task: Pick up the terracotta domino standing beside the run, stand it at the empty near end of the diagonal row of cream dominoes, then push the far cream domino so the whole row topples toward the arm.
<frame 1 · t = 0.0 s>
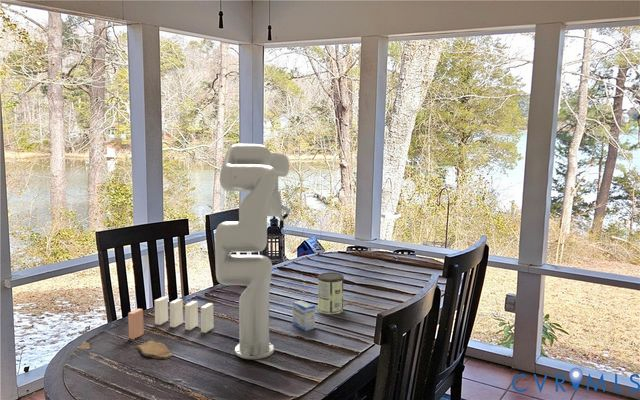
hand: (268, 229, 205), 31 cm above the table, tool pointing down, fingers open, 9 cm apart
pottery shard: (154, 353, 164), on the table
domino 2: (191, 327, 185), on the table
domino 3: (176, 324, 187), on the table
domino 1: (207, 329, 182), on the table
coffee can: (330, 310, 204), on the table
terracotta domino: (136, 336, 176), on the table
medicine box: (303, 327, 187), on the table
domino far: (161, 322, 189), on the table
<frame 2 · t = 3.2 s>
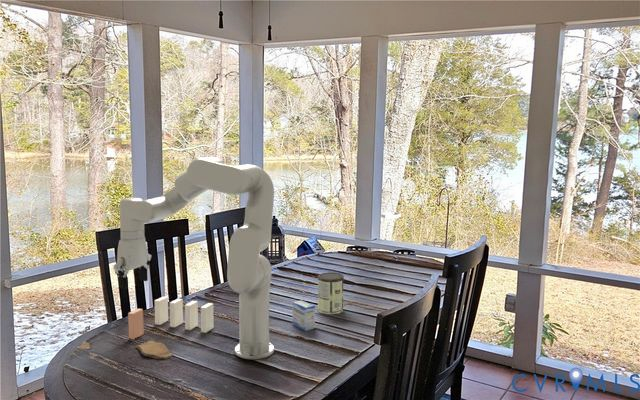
hand: (133, 284, 173), 18 cm above the table, tool pointing down, fingers open, 9 cm apart
nothing on the table moved.
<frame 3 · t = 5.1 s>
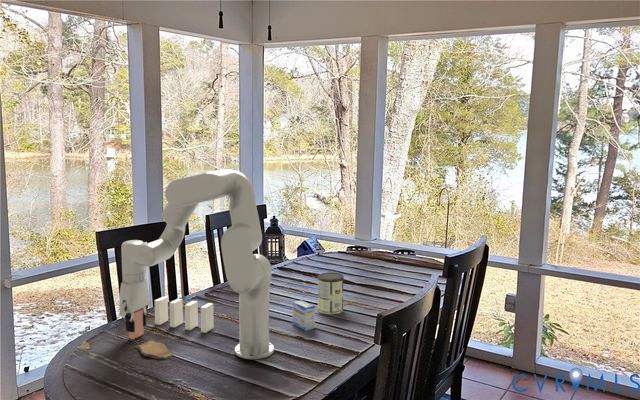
hand: (136, 328, 175), 3 cm above the table, tool pointing down, fingers closed on terracotta domino, 4 cm apart
terracotta domino: (136, 336, 176), on the table, touching gripper
everything else where it was.
when the fingers open (4 cm above the table, at t = 13.3 s): terracotta domino stays where it is, on the table.
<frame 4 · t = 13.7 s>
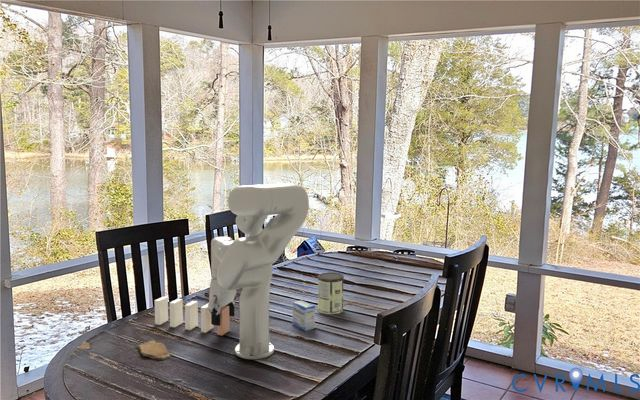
hand: (223, 320, 180), 4 cm above the table, tool pointing down, fingers open, 9 cm apart
terracotta domino: (223, 332, 180), on the table
everything else where it was.
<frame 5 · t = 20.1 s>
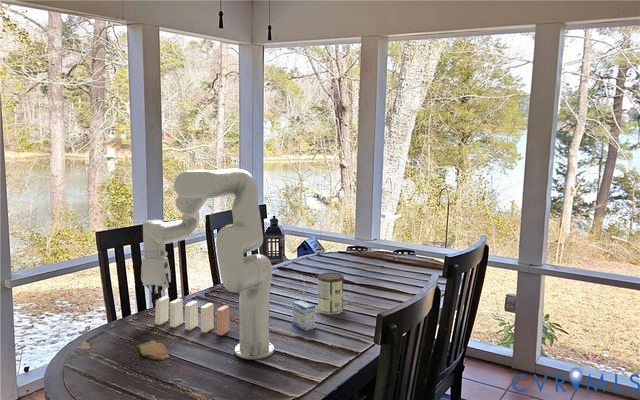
hand: (156, 302, 189), 7 cm above the table, tool pointing down, fingers closed
domino far: (161, 322, 189), on the table, touching gripper
everything else where it was.
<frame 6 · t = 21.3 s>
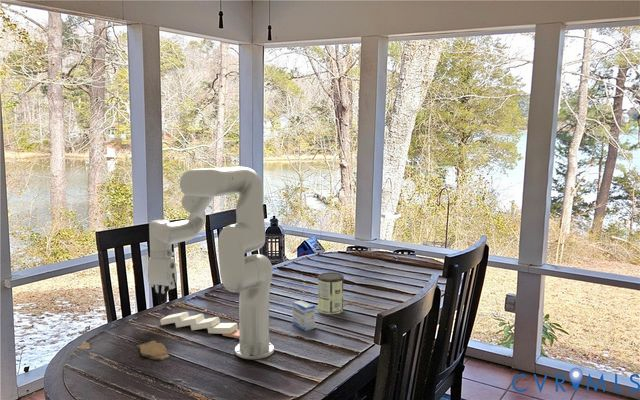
hand: (162, 302, 188), 7 cm above the table, tool pointing down, fingers closed
domino 2: (195, 325, 184), point 1 cm above the table, tilted 73°, touching domino 3
domino 3: (179, 322, 186), point 1 cm above the table, tilted 72°, touching domino 2, domino far
domino 1: (211, 328, 181), point 1 cm above the table, tilted 82°, touching terracotta domino
terracotta domino: (226, 333, 180), on the table, tilted 90°, touching domino 1
domino far: (164, 320, 188), point 1 cm above the table, tilted 72°, touching domino 3
everything else where it was.
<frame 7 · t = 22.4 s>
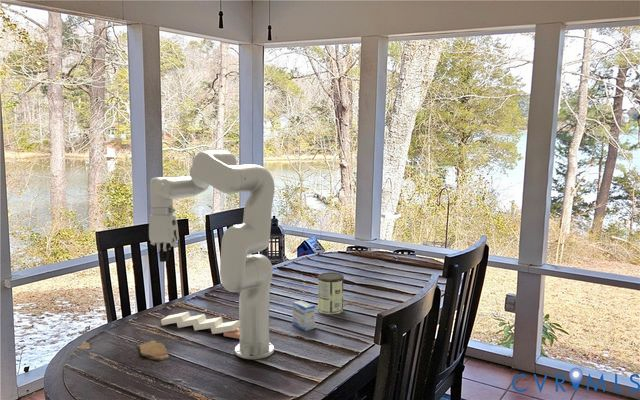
hand: (164, 260, 187), 23 cm above the table, tool pointing down, fingers closed
domino 2: (197, 325, 184), point 1 cm above the table, tilted 74°, touching domino 1, domino 3
domino 1: (215, 328, 181), point 1 cm above the table, tilted 73°, touching domino 2, terracotta domino
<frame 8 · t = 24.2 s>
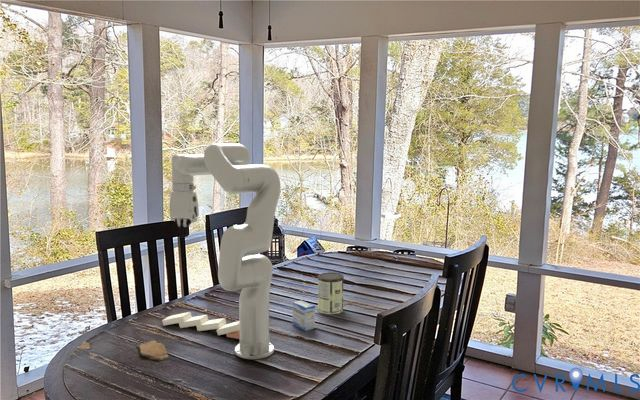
hand: (184, 236, 191), 31 cm above the table, tool pointing down, fingers closed
domino 2: (200, 326, 183), point 1 cm above the table, tilted 76°, touching domino 1
domino 3: (183, 323, 186), point 1 cm above the table, tilted 74°, touching domino far
domino 1: (221, 330, 179), point 1 cm above the table, tilted 68°, touching domino 2, terracotta domino
terracotta domino: (230, 333, 179), on the table, tilted 90°, touching domino 1
everything else where it was.
at the end: terracotta domino tilted 90°; domino far tilted 73°; terracotta domino inside the target area (1.6 cm from its centre), on the table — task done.
